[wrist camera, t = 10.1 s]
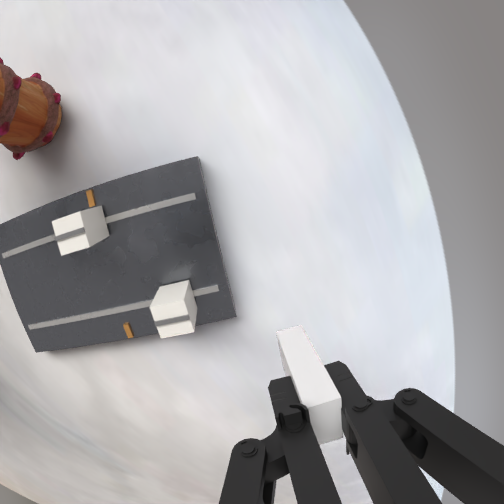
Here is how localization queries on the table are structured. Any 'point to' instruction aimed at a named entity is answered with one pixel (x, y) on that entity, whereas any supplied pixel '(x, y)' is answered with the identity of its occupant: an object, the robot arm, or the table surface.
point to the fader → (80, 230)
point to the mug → (27, 112)
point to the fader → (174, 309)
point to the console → (116, 259)
